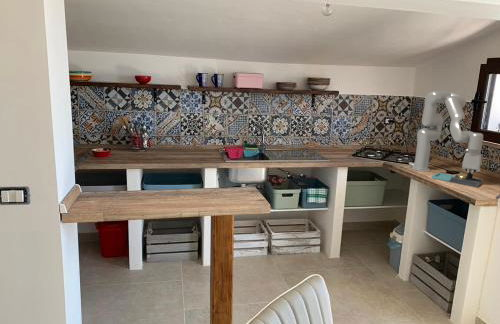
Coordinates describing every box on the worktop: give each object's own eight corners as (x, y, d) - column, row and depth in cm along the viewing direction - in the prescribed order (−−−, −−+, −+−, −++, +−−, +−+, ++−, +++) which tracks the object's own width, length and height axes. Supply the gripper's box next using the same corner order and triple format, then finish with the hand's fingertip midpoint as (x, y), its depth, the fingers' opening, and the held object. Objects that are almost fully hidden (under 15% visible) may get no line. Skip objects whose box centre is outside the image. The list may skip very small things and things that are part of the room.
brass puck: (457, 179, 255) (457, 175, 255) (459, 177, 259) (459, 174, 258) (465, 180, 252) (466, 177, 251) (467, 179, 256) (467, 175, 255)
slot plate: (449, 182, 255) (450, 177, 254) (456, 178, 265) (456, 174, 264) (476, 187, 244) (477, 182, 243) (481, 183, 254) (482, 179, 253)
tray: (431, 178, 262) (431, 175, 262) (438, 175, 272) (438, 172, 272) (449, 182, 255) (449, 179, 254) (455, 178, 265) (456, 176, 264)
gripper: (459, 150, 251) (455, 177, 255) (485, 154, 241) (480, 182, 245) (462, 149, 256) (458, 175, 260) (488, 152, 246) (483, 180, 250)
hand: (469, 178), depth 252 cm, fingers closed
